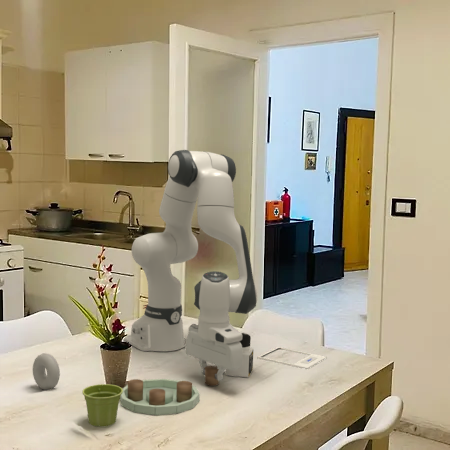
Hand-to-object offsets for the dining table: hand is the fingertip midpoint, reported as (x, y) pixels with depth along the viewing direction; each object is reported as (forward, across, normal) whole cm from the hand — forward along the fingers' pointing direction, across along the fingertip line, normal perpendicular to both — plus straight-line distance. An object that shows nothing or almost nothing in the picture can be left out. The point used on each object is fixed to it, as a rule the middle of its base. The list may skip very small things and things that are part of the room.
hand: (212, 377), depth 185 cm
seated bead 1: (+1, -2, -25) cm, 26 cm away
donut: (+2, -26, -38) cm, 46 cm away
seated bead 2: (+1, +7, -25) cm, 26 cm away
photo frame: (+3, -1, +37) cm, 37 cm away
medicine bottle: (+2, -2, +13) cm, 13 cm away
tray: (+2, +2, -21) cm, 21 cm away
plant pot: (+2, +4, -40) cm, 40 cm away
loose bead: (+1, +7, -16) cm, 18 cm away
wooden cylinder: (+2, 0, 0) cm, 2 cm away
